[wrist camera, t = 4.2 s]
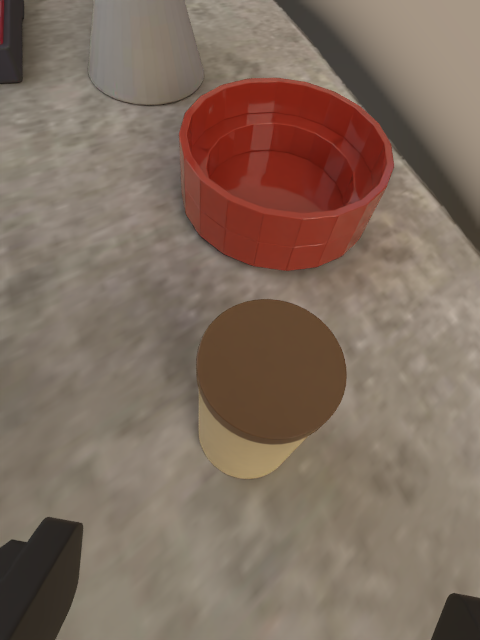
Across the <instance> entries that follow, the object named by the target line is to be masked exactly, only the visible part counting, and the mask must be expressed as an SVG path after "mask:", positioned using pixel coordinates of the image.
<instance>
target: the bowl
mask: <svg viewBox="0 0 480 640" xmlns="http://www.w3.org/2000/svg"><path fill="white" fill-rule="evenodd" d="M179 147H180V169H181V192H182V198H183V203H184V208H185V213H186V215H187V217H188V218H189V220H190V221H191V223H192V224H193V226H194V227H195V229H196V230H197V232H198V233H199V235H200V236H201V237H202V238H204V239H205V240H206V241H207V242H209V243H210V244H211V245H213V246H214V247H215V248H216V249H218V250H219V251H220V252H222V253H223V254H225V255H227V256H229V257H232V258H234V259H237V260H239V261H242V262H244V263H246V264H249V265H251V266H255V267H262V268H270V269H277V270H284V271H285V270H286V271H289V270H298V269H306V268H314V267H319V266H321V265H323V264H325V263H328V262H330V261H332V260H334V259H337V258H339V257H341V256H343V255H344V254H345V253H346V252H347V251H348V250H349V249H350V248H351V247H352V246H353V245H354V244H355V243H356V242H357V241H358V240H359V239H360V237H361V235H362V233H363V231H364V229H365V227H366V225H367V223H368V222H369V220H370V218H371V216H372V214H373V212H374V210H375V208H376V206H377V204H378V202H379V200H380V199H381V197H382V195H383V193H384V191H385V189H386V187H387V184H388V182H389V179H390V176H391V174H392V171H393V168H394V162H393V154H392V147H391V143H390V141H389V140H388V138H387V136H386V135H385V133H384V131H383V130H382V128H381V126H380V125H379V123H378V122H376V120H374V119H373V118H372V117H371V116H370V115H369V114H368V113H367V112H366V111H365V110H364V109H362V108H361V107H360V106H359V105H357V104H356V103H354V102H352V101H350V100H348V99H347V98H345V97H343V96H341V95H340V94H338V93H336V92H334V91H331V90H328V89H325V88H322V87H319V86H316V85H313V84H311V83H308V82H302V81H296V80H289V79H283V78H249V79H244V80H240V81H236V82H232V83H227V84H223V85H221V86H219V87H217V88H215V89H213V90H211V91H209V92H208V93H206V94H204V95H202V96H200V97H199V98H198V99H197V100H196V102H195V103H194V104H193V105H192V106H191V107H190V108H189V109H188V110H187V112H186V113H185V115H184V118H183V122H182V125H181V129H180V132H179Z"/></svg>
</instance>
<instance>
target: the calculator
mask: <svg viewBox="0 0 480 640" xmlns="http://www.w3.org/2000/svg"><path fill="white" fill-rule="evenodd" d="M22 19H24V0H0V83H17V82H21V81H22Z"/></svg>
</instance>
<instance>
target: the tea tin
mask: <svg viewBox="0 0 480 640" xmlns="http://www.w3.org/2000/svg"><path fill="white" fill-rule="evenodd" d="M196 376H197V384H198V388H199V439H200V443H201V446H202V449H203V451H204V453H205V455H206V457H207V458H208V459H209V461H210V462H211V463H212V464H213V465H214V466H215V467H216V468H218V469H219V470H220V471H222V472H224V473H225V474H227V475H230V476H232V477H236V478H241V479H253V478H259V477H262V476H265V475H267V474H269V473H271V472H272V471H274V470H275V469H276V468H277V467H279V466H280V465H281V464H282V463H283V462H284V461H285V460H286V459H287V457H288V456H289V455H290V454H291V453H292V452H293V451H294V450H295V449H296V448H297V447H298V446H299V445H300V444H301V443H302V442H303V441H304V440H305V439H306V438H307V437H308V436H309V435H311V434H312V433H314V432H315V431H317V430H318V429H319V428H320V427H321V426H322V425H323V424H324V423H325V422H326V421H327V420H328V419H329V418H330V417H331V416H332V415H333V413H334V412H335V411H336V409H337V408H338V406H339V404H340V402H341V400H342V397H343V395H344V391H345V387H346V377H347V375H346V364H345V359H344V355H343V352H342V349H341V347H340V345H339V343H338V341H337V339H336V338H335V336H334V335H333V333H332V332H331V331H330V329H329V328H328V327H327V326H326V325H325V324H324V323H323V322H322V321H321V320H320V319H319V318H317V317H316V316H315V315H314V314H312V313H310V312H309V311H307V310H305V309H303V308H301V307H299V306H297V305H294V304H291V303H288V302H284V301H280V300H272V299H260V300H252V301H247V302H244V303H241V304H238V305H235V306H233V307H231V308H229V309H228V310H226V311H225V312H223V313H222V314H220V315H219V316H218V317H217V318H216V319H215V320H214V321H213V322H212V323H211V324H210V325H209V327H208V328H207V330H206V331H205V333H204V335H203V337H202V339H201V341H200V344H199V348H198V352H197V359H196Z"/></svg>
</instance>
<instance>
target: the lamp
mask: <svg viewBox="0 0 480 640" xmlns="http://www.w3.org/2000/svg"><path fill="white" fill-rule="evenodd" d="M88 74H89V77H90V79H91V81H92V82H93V84H94V85H95V86H96V87H97V88H98V89H99V90H101V91H102V92H103V93H105V94H106V95H108V96H110V97H112V98H114V99H117V100H120V101H123V102H127V103H132V104H138V105H161V104H168V103H172V102H175V101H179V100H181V99H184V98H186V97H188V96H189V95H191V94H192V93H193V92H195V91H196V90H197V89H198V87H199V86H200V85H201V84H202V81H203V79H204V69H203V66H202V62H201V58H200V55H199V51H198V48H197V44H196V40H195V37H194V33H193V30H192V26H191V22H190V19H189V15H188V12H187V8H186V5H185V1H184V0H94V4H93V16H92V28H91V40H90V52H89V64H88Z"/></svg>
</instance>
